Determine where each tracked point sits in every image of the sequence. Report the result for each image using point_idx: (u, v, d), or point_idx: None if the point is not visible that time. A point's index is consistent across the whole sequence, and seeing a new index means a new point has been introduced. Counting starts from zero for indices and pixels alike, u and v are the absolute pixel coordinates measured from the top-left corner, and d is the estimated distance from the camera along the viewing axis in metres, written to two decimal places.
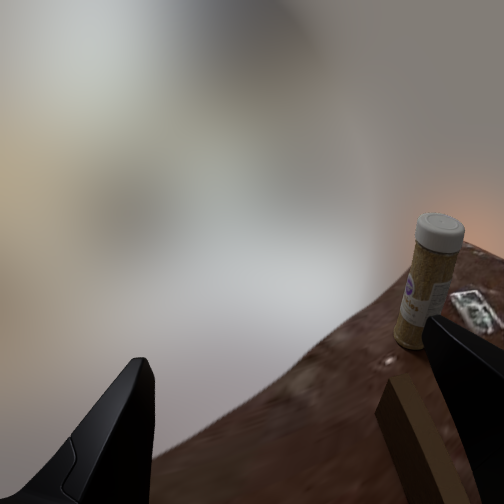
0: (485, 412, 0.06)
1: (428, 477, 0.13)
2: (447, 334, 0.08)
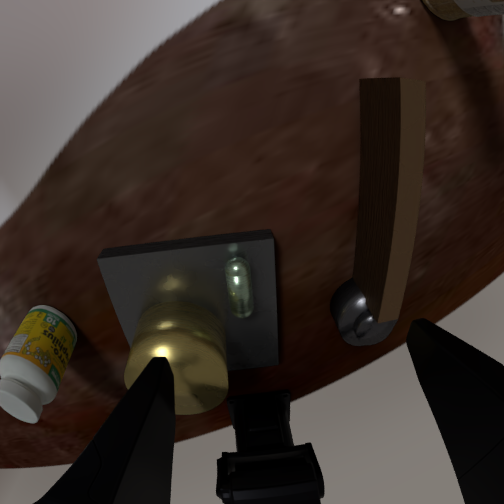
0: (469, 420, 0.06)
1: (388, 225, 0.17)
2: (431, 339, 0.08)
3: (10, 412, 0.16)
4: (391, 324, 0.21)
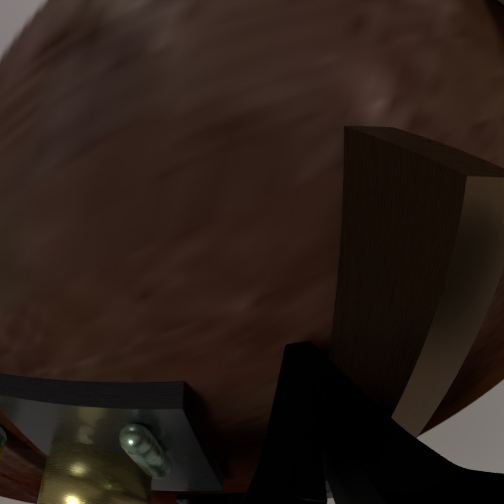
0: (339, 468, 0.06)
1: None
2: (305, 368, 0.08)
3: None
4: None
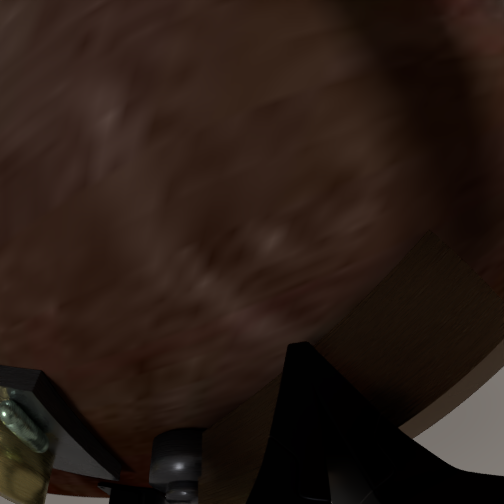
0: (336, 468, 0.06)
1: None
2: (302, 368, 0.08)
3: None
4: None
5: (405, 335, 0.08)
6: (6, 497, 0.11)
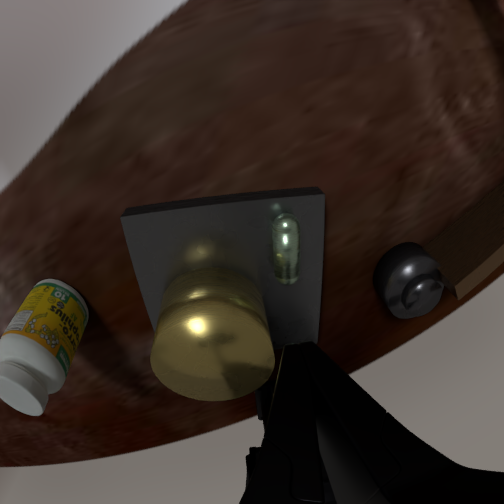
0: (341, 467, 0.06)
1: None
2: (307, 367, 0.08)
3: (10, 403, 0.14)
4: (432, 307, 0.20)
5: None
6: (205, 384, 0.17)
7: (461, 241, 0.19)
